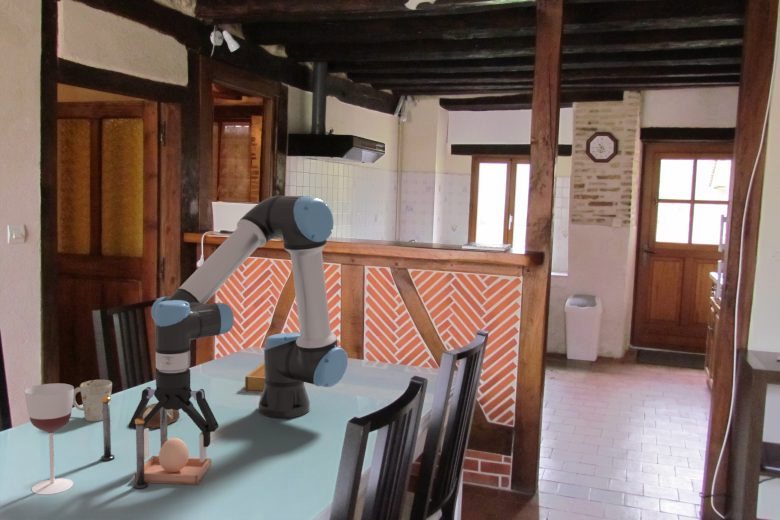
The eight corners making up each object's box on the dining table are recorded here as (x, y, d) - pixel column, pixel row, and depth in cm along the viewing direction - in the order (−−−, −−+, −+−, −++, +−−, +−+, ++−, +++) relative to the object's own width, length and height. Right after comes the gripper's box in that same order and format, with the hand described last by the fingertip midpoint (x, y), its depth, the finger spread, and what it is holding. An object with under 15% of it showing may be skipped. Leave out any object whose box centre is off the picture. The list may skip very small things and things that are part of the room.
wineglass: (38, 478, 158) (35, 383, 155) (82, 477, 159) (79, 383, 156) (21, 495, 149) (17, 395, 147) (67, 494, 150) (64, 395, 147)
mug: (101, 424, 193) (100, 389, 192) (61, 420, 195) (60, 385, 194) (118, 414, 201) (118, 380, 200) (79, 410, 203) (79, 377, 202)
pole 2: (150, 483, 156) (149, 417, 155) (144, 489, 153) (143, 422, 152) (136, 482, 156) (135, 416, 155) (131, 488, 153) (130, 421, 152)
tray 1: (211, 466, 166) (211, 458, 166) (197, 484, 156) (197, 476, 156) (152, 463, 167) (152, 455, 167) (135, 482, 157) (134, 473, 157)
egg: (191, 474, 160) (191, 441, 159) (161, 479, 157) (161, 445, 156) (185, 463, 166) (185, 431, 165) (156, 468, 163) (156, 435, 162)
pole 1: (116, 456, 171) (114, 395, 169) (110, 461, 168) (109, 399, 166) (104, 456, 171) (102, 395, 169) (98, 460, 168) (96, 399, 166)
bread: (185, 419, 199) (185, 402, 199) (156, 431, 189) (156, 413, 188) (156, 413, 204) (156, 396, 203) (126, 424, 194) (126, 407, 193)
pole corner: (172, 459, 170) (171, 398, 168) (168, 463, 167) (167, 402, 166) (160, 458, 170) (159, 397, 169) (155, 463, 167) (154, 401, 166)
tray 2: (290, 395, 224) (290, 378, 224) (245, 392, 226) (245, 375, 226) (314, 370, 254) (315, 355, 254) (274, 367, 257) (274, 352, 256)
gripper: (112, 371, 156) (114, 462, 158) (222, 375, 155) (222, 467, 157) (126, 362, 163) (128, 450, 165) (231, 366, 162) (231, 454, 164)
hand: (174, 458), depth 161 cm, fingers open, 13 cm apart
